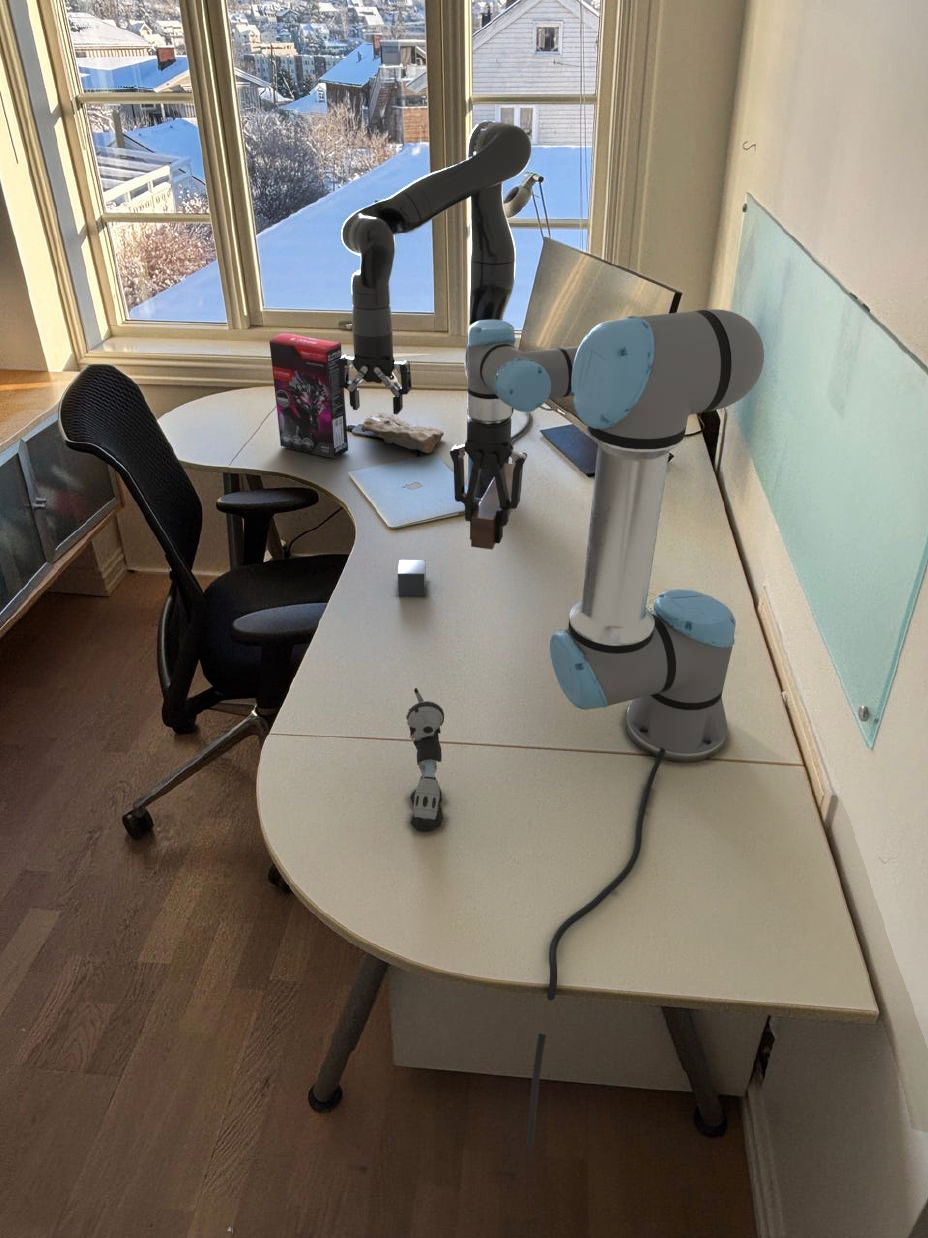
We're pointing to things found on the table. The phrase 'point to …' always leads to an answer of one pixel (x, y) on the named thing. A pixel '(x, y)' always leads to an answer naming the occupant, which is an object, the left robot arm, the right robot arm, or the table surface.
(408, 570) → the slate cube
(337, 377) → the graphics card box
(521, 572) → the table surface
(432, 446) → the stone
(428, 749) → the robot
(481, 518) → the walnut bar
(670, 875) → the table surface
